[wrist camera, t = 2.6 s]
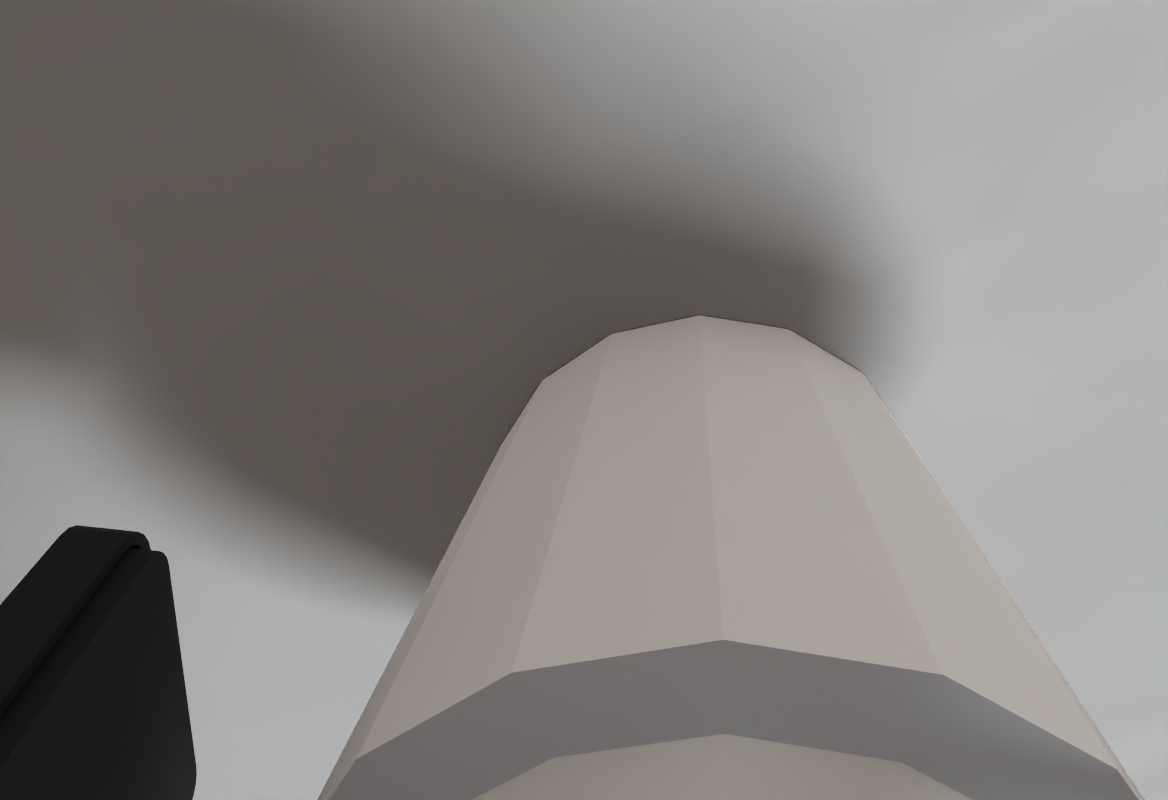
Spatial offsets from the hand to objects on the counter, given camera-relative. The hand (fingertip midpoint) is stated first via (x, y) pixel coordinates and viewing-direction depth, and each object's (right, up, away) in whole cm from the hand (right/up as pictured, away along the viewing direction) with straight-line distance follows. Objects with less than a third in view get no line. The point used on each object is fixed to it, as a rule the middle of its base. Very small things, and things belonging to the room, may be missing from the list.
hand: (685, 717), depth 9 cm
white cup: (+1, +1, +5) cm, 5 cm away
